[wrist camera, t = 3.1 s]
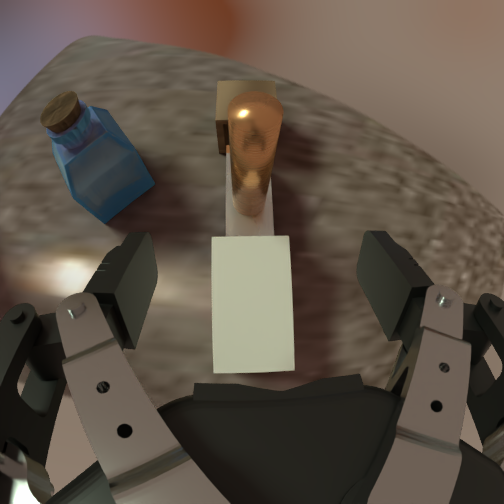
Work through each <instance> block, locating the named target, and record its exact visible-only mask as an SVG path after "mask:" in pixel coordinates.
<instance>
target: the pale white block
mask: <svg viewBox="0 0 504 504" xmlns="http://www.w3.org/2000/svg"><path fill="white" fill-rule="evenodd" d="M212 334H213V366H214V373H255V372H276V371H292V370H295V367H294V329H293V302H292V281H291V262H290V245H289V236H234V237H212Z"/></svg>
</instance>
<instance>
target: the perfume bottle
mask: <svg viewBox="0 0 504 504" xmlns="http://www.w3.org/2000/svg"><path fill="white" fill-rule="evenodd" d="M40 122H41V124H42V125H43V126H44V127H46V128H47V134H48V135H49V136H50V138H51V139H52V150H53V154H54V157H55V159H56V162H57V164H58V166H59V169H60V171H61V173H62V175H63V178H64V180H65V182H66V184H67V186H68V188H69V191H70V193H71V195H72V197H73V199H74V200H76V201H77V202H78V203H79V204H80V205H82V206H83V207H84V208H85V209H87V210H88V211H89V212H90V213H92V214H93V215H94V216H95V217H97V218H98V219H99V220H100V221H102V222H103V223H104V224H105V223H107V222H108V221H109V220H110V219H111V218H113V217H114V216H115V215H116V214H118V213H119V212H120V211H121V210H123V209H124V208H125V207H126V206H128V205H129V204H130V203H131V202H133V201H134V200H135V199H137V198H138V197H139V196H140V195H142V194H143V193H144V192H146V191H147V190H148V189H150V188H151V187H152V186H154V185H155V183H154V181H153V179H152V177H151V176H150V174H149V172H148V170H147V169H146V167H145V165H144V163H143V161H142V160H141V158H140V156H139V154H138V153H137V151H136V149H135V148H134V146H133V145H132V144H131V142H130V141H129V140H128V138H127V137H126V135H125V134H124V133H123V131H122V130H121V129H120V127H119V126H118V124H117V123H116V122H115V120H114V119H113V118H112V116H111V115H110V113H109V112H108V111H107V110H105V109H101V108H97V107H93V106H90V107H88V108H87V106H86V104H85V103H84V102H83V101H81V100H78V97H77V94H76V93H75V92H73V91H68V92H64V93H62V94H59V95H58V96H56V97H55V98H54V99H52V100H51V101H50V102H49V103H48V104H47V106H46V107H45V108H44V110H43V112H42V114H41V118H40Z"/></svg>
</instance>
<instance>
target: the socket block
mask: <svg viewBox="0 0 504 504" xmlns="http://www.w3.org/2000/svg"><path fill="white" fill-rule="evenodd" d="M250 91H259V92H264V93H267V94H270V95H272V96H273V97H275V98H276V99H277V96H276V88H275V81H218V87H217V103H216V129H217V138H218V147H219V153H226V145H229V128H228V105H229V103H230V102H231V100H232V99H233V98H234V97H236V96H237V95H239V94H242V93H245V92H250Z"/></svg>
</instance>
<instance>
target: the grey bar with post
mask: <svg viewBox="0 0 504 504" xmlns="http://www.w3.org/2000/svg"><path fill="white" fill-rule="evenodd" d="M282 118H283V107H282V105H281V103H280V102H279V101H278V100H277V99H276V98H275V97H273V96H272V95H270V94H267V93H264V92H259V91H250V92H245V93H242V94H239V95H237V96H236V97H234V98H233V99H232V100H231V102H230V103H229V105H228V128H229V145H226V237H234V236H274V224H273V205H272V188H271V172H272V168H273V163H274V158H275V153H276V148H277V143H278V138H279V133H280V128H281V123H282Z"/></svg>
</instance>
